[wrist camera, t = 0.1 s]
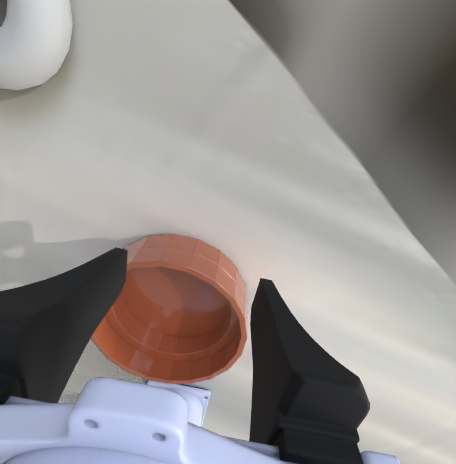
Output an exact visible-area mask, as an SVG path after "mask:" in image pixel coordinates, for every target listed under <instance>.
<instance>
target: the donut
mask: <svg viewBox="0 0 456 464" xmlns="http://www.w3.org/2000/svg"><path fill="white" fill-rule="evenodd" d="M72 27H73V21H72V13H71V5H70V0H7V15H6V18H5V20H4V23H3V25H2V26H1V27H0V88H4V89H13V90H22V89H26V88H30V87H33V86H37V85H41V84H43V83H45V82H46V81H47V80H48V79H49V78H51V77H52V76H53V75H54V74H55V73H56V72H58V71H59V69H60V67H61V65H62V63H63V61H64V59H65V57H66V55H67V53H68V51H69V49H70V42H71V35H72Z"/></svg>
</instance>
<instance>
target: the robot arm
mask: <svg viewBox="0 0 456 464" xmlns="http://www.w3.org/2000/svg"><path fill="white" fill-rule="evenodd" d="M127 254H128V250H125V249H120V248H114V249H112V250H110V251H108V252H106V253H105V254H103V255H101V256H99V257H97V258H95V259H93V260H91V261H89V262H87V263H85V264H83V265H81V266H78V267H76V268H74V269H72V270H69V271H67V272H65V273H62V274H60V275H57V276H54V277H52V278H49V279H46V280H43V281H39V282H36V283H32V284H29V285H25V286H22V287H18V288H13V289H9V290H4V291H0V464H400V462H399V460H398V458H397V457H396V456H393V455H387V454H382V453H377V452H372V451H364V452H361V453H360V452H359V449H358V446H357V443H358V442H359V435H358V432H357V428H358V426H359V425H360V424H361V422H362V421H363V420H364V418H365V417H366V416H367V414H368V412H369V410H370V402H369V400H368V397H367V395H366V392H365V389H364V387H363V385H362V383H361V380H360V378H359V377H358V376H356V375H355V374H354V373H352V372H351V371H350V370H348V369H347V368H345V367H344V366H343V365H341V364H340V363H339V362H338V361H336V360H335V359H334V358H333V357H332V356H330V355H329V354H328V353H327V352H326V351H325V350H324V349H323V348H322V347H321V346H320V345H318V344H317V343H316V342H315V341H314V340H313V339H312V337H311V336H310V335H309V334H308V333H307V332H306V331H305V330H304V328H303V327H302V326H301V325H300V324H299V322H298V321H297V320H296V318H295V317H294V316H293V314H292V313H291V311H290V310H289V308H288V307H287V305H286V304H285V302H284V301H283V299H282V297H281V296H280V294H279V292H278V290H277V289H276V287H275V285H274V283H273V282H272V280H267V279H262V278H261V279H260V282H259V285H258V288H257V291H256V294H255V297H254V301H253V304H252V307H251V322H250V326H251V342H252V357H253V388H252V409H251V425H250V439H249V441H245V440H240V439H235V438H229V437H224V436H221V435H218V434H216V433H214V432H211V431H209V430H207V429H204V428H202V423H203V420H204V416H205V413H206V409H207V406H208V402H209V399H210V394H211V392H210V391H209V390H204V389H199V388H194V387H189V386H184V385H179V384H166V383H161V382H156V381H151V380H148V382H147V385H146V384H141V383H136V382H131V381H125V380H120V379H115V378H107V377H98V378H95V379H93V380H91V381H88V382H87V383H86V384H85V386H84V388H83V390H82V392H81V393H80V395H79V397H78V399H77V400H76V402H75V403H58V401H59V398H60V396H61V394H62V392H63V390H64V388H65V386H66V384H67V382H68V380H69V378H70V376H71V374H72V372H73V370H74V368H75V366H76V364H77V362H78V360H79V358H80V356H81V354H82V353H83V351H84V349H85V347H86V345H87V343H88V342H89V340H90V338H91V336H92V335H93V333H94V332H95V330H96V329H97V327H98V326H99V324H100V323H101V321H102V320H103V318H104V317H105V316H106V314H107V313H108V311H109V310H110V308H111V307H112V305H113V304H114V302H115V301H116V300H117V298H118V296H119V294H120V293H121V291H122V289H123V287H124V284H125V282H126V275H127Z"/></svg>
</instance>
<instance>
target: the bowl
mask: <svg viewBox="0 0 456 464" xmlns="http://www.w3.org/2000/svg"><path fill="white" fill-rule="evenodd" d="M125 250H128V254H127V275H126V282H125V284H124V287H123V289H122V291H121V293H120V294H119V296H118V298H117V300H116V301H115V302H114V304H113V305H112V307H111V308H110V310H109V311H108V313H107V314H106V316H105V317H104V318H103V320H102V321H101V323H100V324H99V326H98V327H97V329H96V330H95V332H94V333H93V335H92V336H91V340H92V342H93V343H94V344H95V345H96V347H97V348H98V349H99V350H100V351H101V352H102V353H103V354H104V356H105V357H106V358H107V359H109V360H110V361H112V362H113V363H115V364H116V365H117V366H119V367H120V368H122V369H123V370H125V371H127V372H129V373H132V374H134V375H137V376H139V377H141V378H144V379H147V380H151V381H156V382H161V383H166V384H192V383H196V382H200V381H205V380H209V379H212V378H214V377H216V376H218V375H219V374H221V373H223V372H225V371H227V370H228V369H229V368H230V367H231V366H232V365H233V364H234V363H235V362H236V361H237V360H238V358H239V357H240V356H241V355H242V352H243V349H244V346H245V343H246V340H247V294H246V285H245V283H244V281H243V279H242V277H241V275H240V273H239V271H238V269H237V267H236V266H235V265H234V264H233V263H232V262H231V261H230V260H229V259H228V258H227V257H226V256H225V255H224V254H223V253H222V252H221V251H220V250H218V249H216V248H214V247H212V246H210V245H208V244H206V243H205V242H203V241H201V240H198V239H194V238H190V237H185V236H180V235H176V234H170V235H156V236H148V237H146V238H143V239H141V240H138V241H136V242H133V243H131V244H129V245H128V246H127V247H126V248H125Z"/></svg>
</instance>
